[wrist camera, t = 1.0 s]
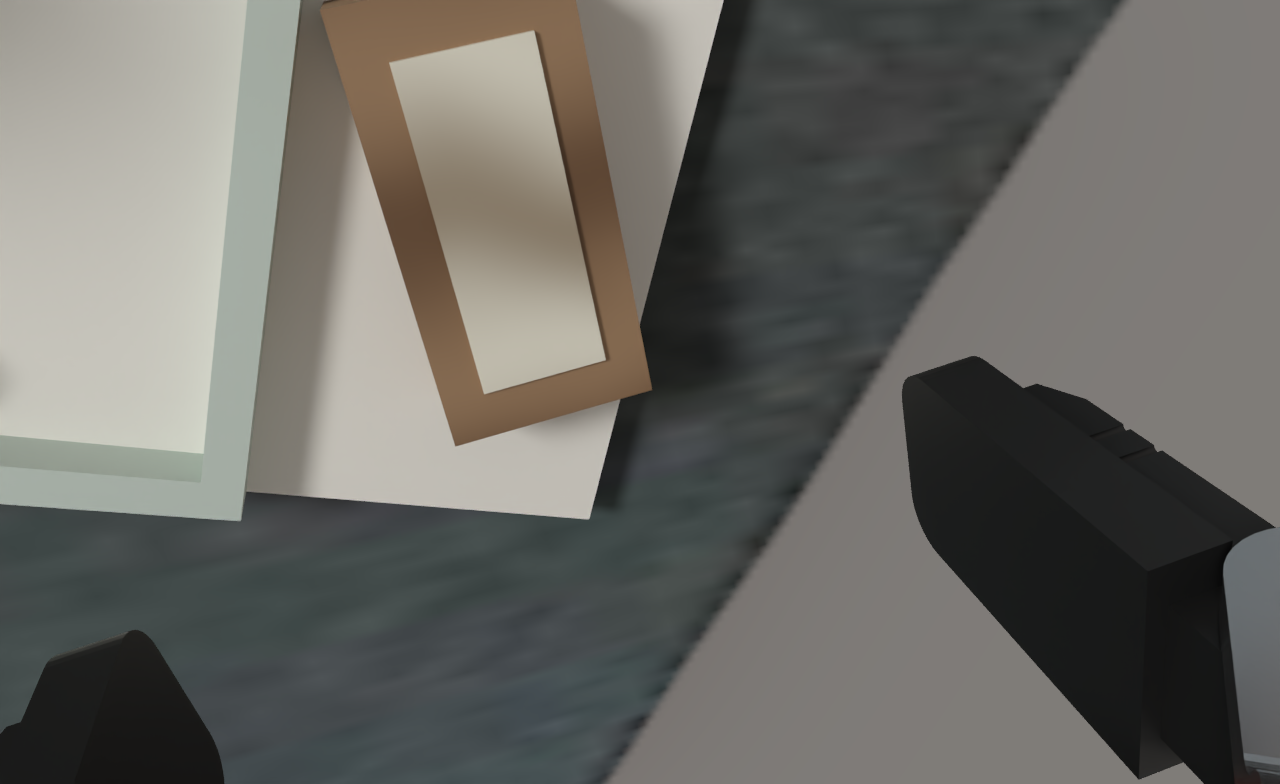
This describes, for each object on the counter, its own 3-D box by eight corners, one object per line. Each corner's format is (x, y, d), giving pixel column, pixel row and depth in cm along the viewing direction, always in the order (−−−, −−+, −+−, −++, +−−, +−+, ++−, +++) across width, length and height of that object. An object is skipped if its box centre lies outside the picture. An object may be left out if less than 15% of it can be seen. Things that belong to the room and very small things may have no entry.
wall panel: (580, 498, 30) (605, 558, 27) (-154, 434, 24) (-224, 502, 21) (767, -238, 23) (827, -263, 20) (-203, -602, 17) (-317, -714, 14)
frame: (622, 345, 27) (653, 392, 24) (444, 395, 26) (456, 449, 23) (542, -45, 22) (568, -43, 20) (323, 1, 22) (319, 10, 19)
